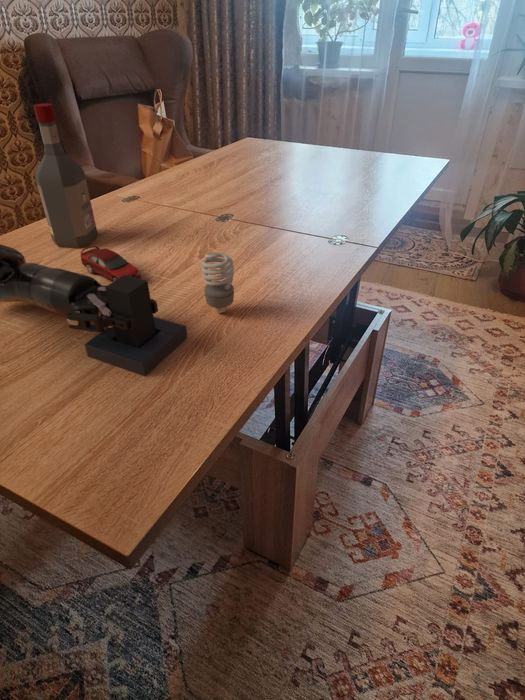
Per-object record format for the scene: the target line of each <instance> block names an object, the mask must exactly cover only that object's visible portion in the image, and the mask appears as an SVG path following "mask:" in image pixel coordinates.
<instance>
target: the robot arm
mask: <svg viewBox="0 0 525 700" xmlns="http://www.w3.org/2000/svg"><path fill="white" fill-rule="evenodd" d="M106 286H107V285H103V284H101V283H99V282H98V281H97V280H96V279H95V278H94V277H92V276H90V275H85V274H82V273H79V272H75V271H70V270H66V269H64V268H63V269H62V268H57V267H56V268H55V267H50V266H46V265H43V264H39V263H34V262H27V260H26V258H25V256H24V255H23V253H21V252H20V251H19V250H18V249H15V248H14V247H12V246H11V247H10V246H8V245H5V244H4V245H3V244H0V303H18V302H24V303H28V304H32V305H36V306H39V307H42V308H43V309H45V310H47V311H50V312H53V313H56V314H59V315H62V316H65V319H66V321H67V325H68V328H69V329H71V330H78V331H84V332H85V331H86V332H93V333H101V332H103V331H104V330H105V329H106V328H108V327H109V328H112V327H116V328H120V329H123V330H130V331H133V330H134V329H136V325H135V320H134V318H133V317H130V316H127V315H124V314H120V313H117V312H115V313H112V311H111V310H110V307H109V303H108V298H107V294H106V289H105V287H106ZM150 299H151V305H152V311H153V315H155V314H157V312H159V308H158V302H157V301H156V299H153V298H150ZM91 322H93V323H94V324H92V323H91Z"/></svg>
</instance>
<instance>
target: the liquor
mask: <svg viewBox="0 0 525 700" xmlns="http://www.w3.org/2000/svg"><path fill="white" fill-rule="evenodd" d="M32 106H33V110H34V115H35V118H36V119H35V120H36V122H37V123H38V127H39V130H40V136H41V139H42V144H43V148H44V149H43V152H44V155H43V157H42V158H41V161H39V164H38V166H37V168H36V169H35V171H34V179H35V183H36V186H37V189H38V193H39V197H40V201H41V205H42V207H43V213H44V214H45V218H46V222H47V226H48V229H49V233H50V236H51V237H50V238H51V240H52V242H53V243H54V244H55V245H56V246H57V247H58V248H65V249H66V248H67V249H68V248H69V249H79V248H80V249H81V248H86V247H89V245H91V243H93V242H94V241H95V240H96V239H97V237H98V234H99V233H98V229H97V224H96V220H95V215H94V211H93V206H92V200H91V197H90V192H89V188H88V184H87V183H88V182H87V179H86V174H85V171H84V169H83V167H82V166H81V165H80V164H79V163H78V162H76V161H75V160H74V159H73V158H72V157H71V156H70V155H68V154H67V153H66V152H65V149H64V148H63V146H62V143H61V138H60V135H59V131H58V127H57V123H56V121H57V119H56V115H55V112H54V107H53V104H52V103H46V102H45V103H37V104H33V105H32Z"/></svg>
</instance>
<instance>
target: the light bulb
mask: <svg viewBox="0 0 525 700" xmlns="http://www.w3.org/2000/svg"><path fill="white" fill-rule="evenodd" d="M201 266H202V267H201V272H202V278H203V279H204V280H203V282H204V284H205V287H204V297H205V302H206V304H207V305H208V306H210V307H211V308H213V310H214V312H216V313H218V314H222V313H225V312H226V311H227V310H228V307H229V306H231V305H232V304H233V302H234V299H235V298H234V297H235V288H234V285H233V281H234V276H235V274H234V270H235V267H234V260H233V259H232V257H231V256H230V255H228V254H226V253H224V252H219V251H211V252H210V251H209V252H207V253H206V254H205V255H204V259H203V260H202V261H201Z"/></svg>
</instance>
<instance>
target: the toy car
mask: <svg viewBox="0 0 525 700" xmlns="http://www.w3.org/2000/svg"><path fill="white" fill-rule="evenodd" d="M91 248H92V249H91ZM88 249H89V250H88ZM85 250H86V251H85ZM80 261H81V264H82V266H84V267H85V268H86V269H87V271H88V273H89V274H94V273H95V274H97V275H99V276H101V277H104V278H105V279H106V280H109V281H112V283H113V282H114V281H116V280H117V279H119V278H120V277H122V276H124V275H127V276H131V277H135V278H139V279H142V274H141V272H140V271H139V269H138V268H137V267H136V266H134V265H133V264H131V263H130V262H129V261H128V260H126V259H125V258H124V257H123V256H121V255H120V254H119V253H117V252H115V251H114V250H111V249H110V248H105V247H104V248H99V247H98V246H97V245H90V246H86V247H84V248H82V249H81V251H80Z"/></svg>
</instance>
